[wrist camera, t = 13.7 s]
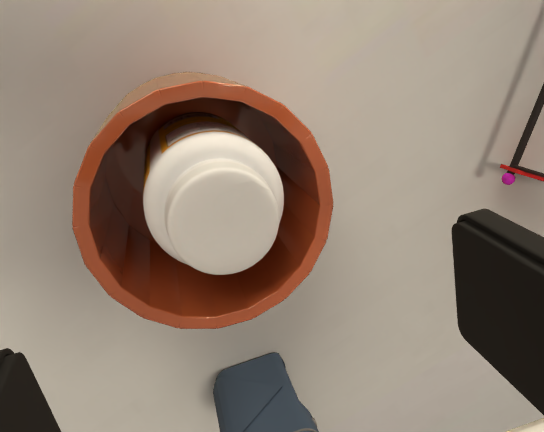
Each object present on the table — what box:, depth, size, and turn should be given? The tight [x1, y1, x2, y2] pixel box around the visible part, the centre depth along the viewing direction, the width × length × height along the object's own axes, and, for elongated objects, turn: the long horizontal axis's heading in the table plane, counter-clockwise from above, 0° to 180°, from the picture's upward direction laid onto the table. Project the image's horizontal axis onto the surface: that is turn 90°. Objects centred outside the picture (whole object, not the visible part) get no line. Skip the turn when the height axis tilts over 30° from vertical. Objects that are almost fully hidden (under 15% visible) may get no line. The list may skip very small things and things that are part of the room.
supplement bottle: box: [143, 112, 284, 275], centre depth 22 cm, size 6×6×10 cm
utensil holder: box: [72, 72, 333, 329], centre depth 23 cm, size 10×10×8 cm
